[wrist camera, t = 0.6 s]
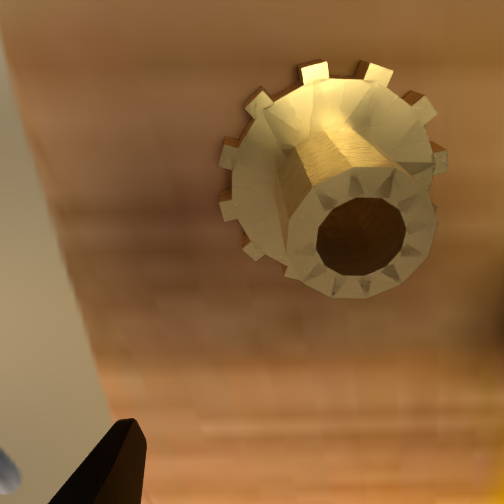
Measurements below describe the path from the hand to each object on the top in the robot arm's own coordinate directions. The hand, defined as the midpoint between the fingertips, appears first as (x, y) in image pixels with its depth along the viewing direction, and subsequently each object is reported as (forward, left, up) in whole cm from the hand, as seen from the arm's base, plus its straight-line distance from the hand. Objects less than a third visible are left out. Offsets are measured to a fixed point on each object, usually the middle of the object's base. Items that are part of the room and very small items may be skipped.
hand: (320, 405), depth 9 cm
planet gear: (-2, -2, -12) cm, 12 cm away
